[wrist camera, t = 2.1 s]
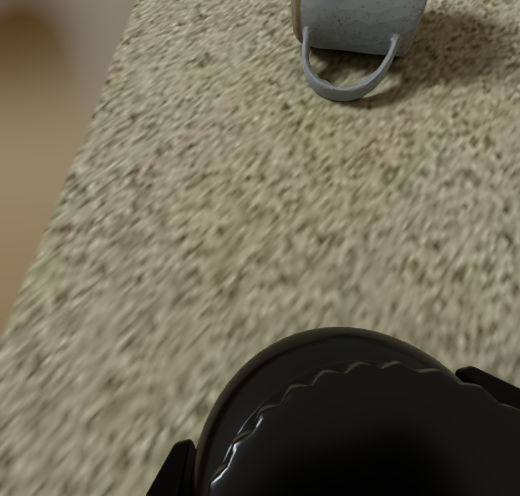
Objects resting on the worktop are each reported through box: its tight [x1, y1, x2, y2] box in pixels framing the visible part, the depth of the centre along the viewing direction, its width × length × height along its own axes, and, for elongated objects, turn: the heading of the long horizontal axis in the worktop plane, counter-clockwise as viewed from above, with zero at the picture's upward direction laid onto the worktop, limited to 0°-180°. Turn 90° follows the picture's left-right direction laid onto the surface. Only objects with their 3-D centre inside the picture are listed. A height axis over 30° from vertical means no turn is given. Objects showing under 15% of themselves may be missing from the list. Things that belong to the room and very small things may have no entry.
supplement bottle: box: [189, 327, 520, 496], centre depth 8 cm, size 7×7×12 cm
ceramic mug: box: [291, 0, 427, 101], centre depth 20 cm, size 11×8×8 cm
